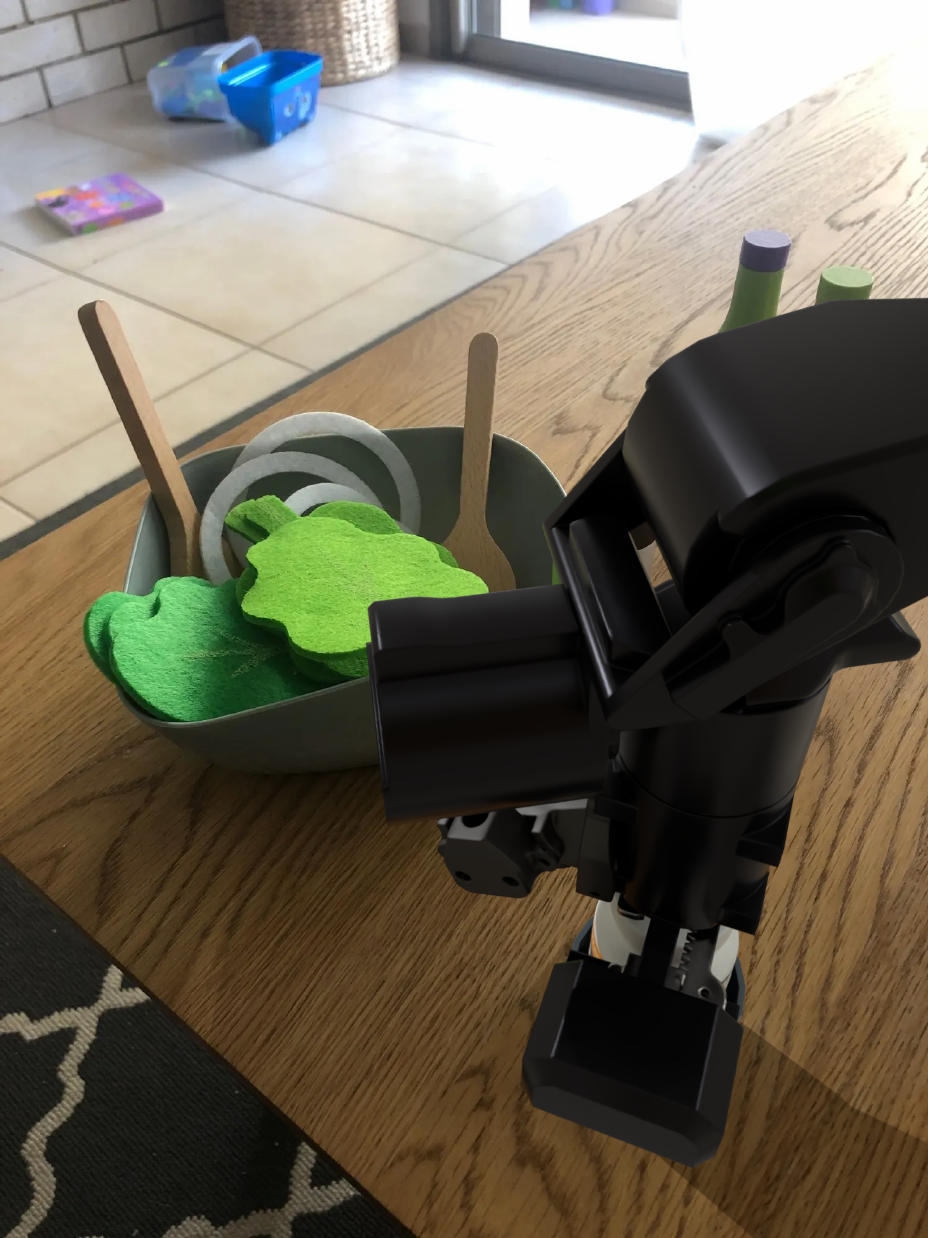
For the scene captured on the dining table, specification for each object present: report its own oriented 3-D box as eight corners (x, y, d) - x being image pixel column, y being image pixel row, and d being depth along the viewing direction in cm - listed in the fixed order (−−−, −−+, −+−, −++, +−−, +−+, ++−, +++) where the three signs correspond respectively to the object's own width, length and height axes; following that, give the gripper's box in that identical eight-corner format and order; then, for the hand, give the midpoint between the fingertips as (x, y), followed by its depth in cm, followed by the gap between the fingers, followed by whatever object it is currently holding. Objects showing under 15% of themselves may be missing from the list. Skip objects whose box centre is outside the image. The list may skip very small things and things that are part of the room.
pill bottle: (555, 998, 45) (564, 877, 38) (648, 924, 47) (672, 798, 40) (647, 1103, 41) (675, 992, 34) (741, 1018, 44) (786, 898, 37)
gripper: (551, 514, 40) (541, 760, 51) (344, 916, 27) (390, 1128, 38) (843, 575, 37) (766, 823, 47) (759, 1060, 24) (681, 1246, 35)
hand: (656, 978), depth 42 cm, fingers closed on pill bottle, 6 cm apart
